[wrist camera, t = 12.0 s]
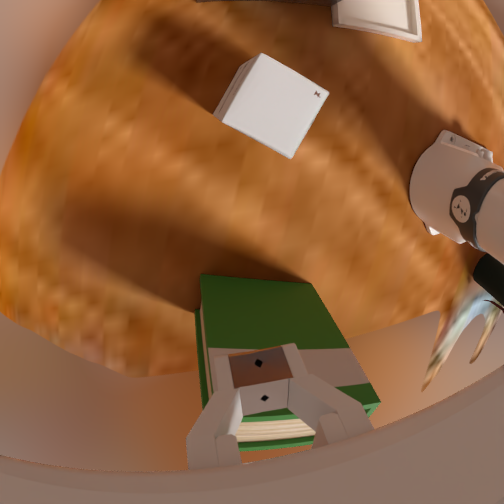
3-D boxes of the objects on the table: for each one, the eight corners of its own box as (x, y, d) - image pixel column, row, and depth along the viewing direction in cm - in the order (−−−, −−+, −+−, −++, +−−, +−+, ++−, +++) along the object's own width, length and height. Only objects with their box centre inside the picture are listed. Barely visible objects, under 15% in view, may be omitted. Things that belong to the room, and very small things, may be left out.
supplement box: (239, 64, 33) (262, 48, 22) (290, 92, 35) (333, 92, 24) (210, 115, 35) (218, 121, 24) (262, 141, 38) (293, 161, 27)
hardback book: (194, 313, 48) (207, 452, 27) (200, 273, 45) (217, 417, 24) (298, 319, 53) (352, 436, 32) (311, 283, 50) (380, 402, 29)
